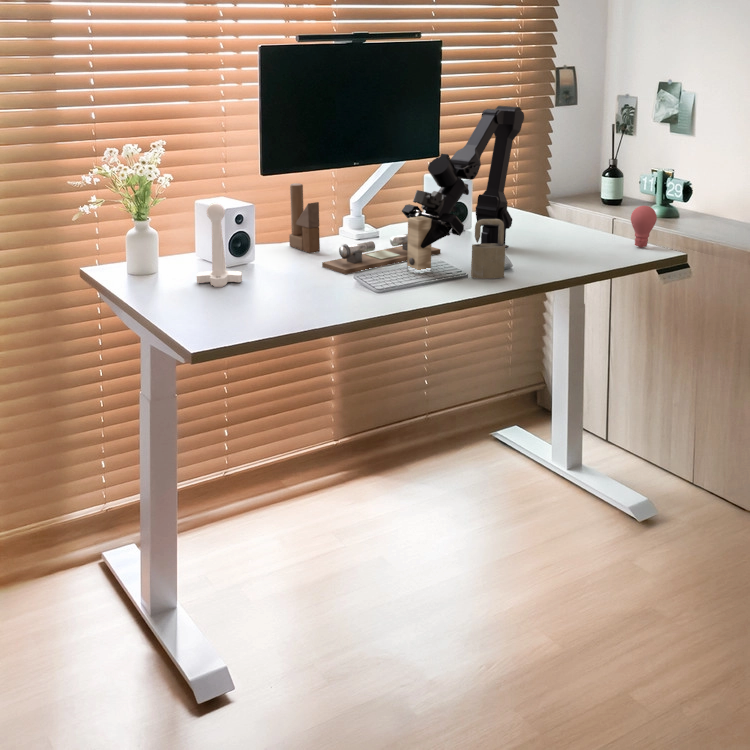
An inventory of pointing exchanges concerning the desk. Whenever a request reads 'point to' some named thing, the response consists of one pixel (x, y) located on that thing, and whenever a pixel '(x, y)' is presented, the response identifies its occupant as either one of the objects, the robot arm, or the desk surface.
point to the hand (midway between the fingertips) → (415, 245)
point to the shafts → (368, 248)
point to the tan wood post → (418, 243)
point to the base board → (372, 260)
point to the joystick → (218, 252)
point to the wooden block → (303, 222)
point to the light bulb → (643, 224)
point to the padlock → (488, 253)
